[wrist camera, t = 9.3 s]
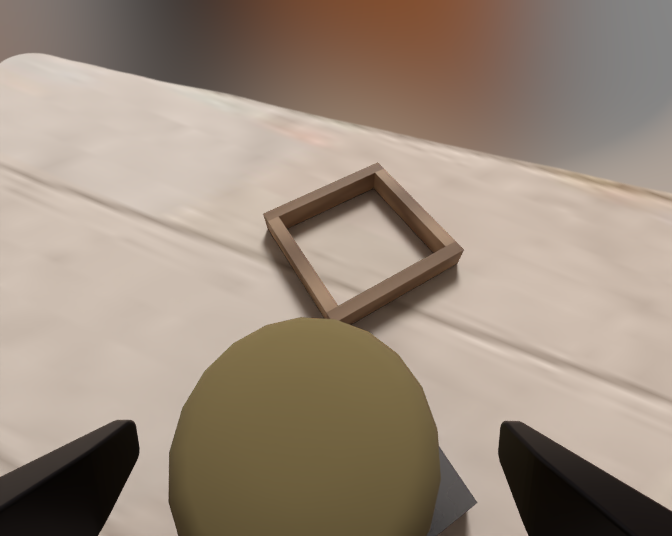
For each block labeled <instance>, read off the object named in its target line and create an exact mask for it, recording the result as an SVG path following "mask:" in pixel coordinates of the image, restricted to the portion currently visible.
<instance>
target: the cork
mask: <svg viewBox="0 0 672 536" xmlns="http://www.w3.org/2000/svg"><path fill="white" fill-rule="evenodd" d="M440 482H441V473H440V458H439V443H438V431H437V427H436V424H435V421H434V419H433V416H432V413H431V410H430V408H429V405H428V402H427V399H426V397H425V394H424V391H423V388H422V386H421V385H420V383H419V382H418V381H417V379H416V378H415V377H414V375H413V374H412V372H411V371H410V370H409V368H408V367H407V366H406V364H405V363H404V362H403V360H402V359H401V357H400V356H399V355H398V354H397V353H396V352H395V351H393V350H392V349H391V348H389V347H388V346H387V345H385V344H384V343H383V342H381V341H380V340H379V339H377V338H376V337H375V336H374V335H372V334H371V333H370V332H368V331H365V330H363V329H360V328H357V327H355V326H352V325H349V324H346V323H344V322H341V321H338V320H336V319H321V318H304V317H300V318H296V319H291V320H287V321H283V322H278V323H274V324H270V325H266V326H264V327H262V328H260V329H259V330H257V331H255V332H253V333H251V334H249V335H248V336H246V337H244V338H242V339H240V340H239V341H237V342H235V343H233V344H232V345H231V346H230V347H229V348H228V349H227V350H226V351H225V352H224V353H223V354H222V355H221V356H220V357H219V358H218V359H217V360H216V361H215V362H214V363H213V364H212V365H211V366H209V367H208V368H207V369H206V370H205V372H204V373H203V375H202V377H201V378H200V380H199V381H198V383H197V385H196V386H195V388H194V390H193V391H192V393H191V395H190V396H189V398H188V400H187V401H186V403H185V405H184V406H183V408H182V411H181V415H180V418H179V421H178V425H177V428H176V432H175V435H174V438H173V442H172V445H171V449H170V452H169V505H170V508H171V512H172V515H173V519H174V522H175V526H176V529H177V533H178V536H427V534H428V532H429V530H430V527H431V522H432V518H433V513H434V509H435V504H436V500H437V495H438V491H439V486H440Z"/></svg>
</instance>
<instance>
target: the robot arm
mask: <svg viewBox="0 0 672 536" xmlns="http://www.w3.org/2000/svg"><path fill="white" fill-rule="evenodd" d="M498 455H499V460H500V463H501V466H502V468H503V471H504V474H505V476H506V479H507V482H508V484H509V487H510V490H511V492H512V495H513V498H514V500H515V503H516V506H517V508H518V511H519V514H520V516H521V519H522V521H523V524H524V526H525V529H526V531H527V533H528V536H672V511H671V510H669V509H667V508H666V507H664V506H662V505H661V504H659V503H657V502H655V501H654V500H652V499H650V498H649V497H647V496H645V495H644V494H642V493H640V492H639V491H637V490H635V489H634V488H632V487H630V486H629V485H627V484H625V483H623V482H622V481H620V480H618V479H617V478H615V477H613V476H612V475H610V474H608V473H607V472H605V471H603V470H602V469H600V468H598V467H597V466H595V465H593V464H591V463H590V462H588V461H586V460H585V459H583V458H581V457H580V456H578V455H576V454H575V453H573V452H571V451H570V450H568V449H566V448H565V447H563V446H561V445H559V444H558V443H556V442H554V441H553V440H551V439H549V438H548V437H546V436H544V435H543V434H541V433H539V432H538V431H536V430H534V429H533V428H531V427H529V426H528V425H526V424H524V423H522V422H520V421H504V422H503V423H502V424H501V427H500V437H499V448H498ZM138 456H139V442H138V435H137V429H136V424H135V422H134V421H132V420H115V421H113V422H111V423H109V424H107V425H105V426H103V427H101V428H99V429H97V430H95V431H93V432H91V433H89V434H87V435H85V436H83V437H80V438H78V439H76V440H74V441H72V442H70V443H68V444H66V445H64V446H62V447H60V448H58V449H56V450H54V451H52V452H50V453H48V454H46V455H44V456H42V457H40V458H38V459H36V460H34V461H32V462H30V463H28V464H26V465H24V466H22V467H20V468H18V469H16V470H14V471H12V472H9V473H7V474H5V475H3V476H1V477H0V536H98V535H99V533H100V531H101V530H102V528H103V526H104V524H105V522H106V521H107V519H108V517H109V515H110V513H111V511H112V509H113V507H114V505H115V503H116V501H117V499H118V497H119V495H120V493H121V491H122V489H123V487H124V485H125V483H126V481H127V479H128V477H129V475H130V473H131V471H132V469H133V467H134V465H135V463H136V461H137V459H138Z"/></svg>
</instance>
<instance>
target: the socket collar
mask: <svg viewBox="0 0 672 536" xmlns="http://www.w3.org/2000/svg"><path fill="white" fill-rule="evenodd" d="M373 188H374V189H375V190H376V191H377V192H378V193H379V194H380V196H381V197H382V198H383V199H384V200H385V201H386V202H387V203H388V204H389V205H390V206H391V207H392V209H393V210H394V211H395V212H396V213H397V214H398V215H399V216H400V217H401V218H402V219H403V220H404V222H405V223H406V224H407V225H408V226H409V227H410V228H411V229H412V230H413V231H414V232H415V234H416V235H417V236H418V237H419V238H420V239H421V240H422V241H423V242H424V243H425V244H426V245H427V247H428V248H429V249H430V250H431V251H432V252H433V254H431V255H429V256H428V257H426V258H424V259H422V260H420V261H419V262H417V263H415V264H413V265H411V266H410V267H408V268H406V269H404V270H402V271H401V272H399V273H397V274H395V275H393V276H391V277H390V278H388V279H386V280H384V281H382V282H381V283H379V284H377V285H375V286H373V287H372V288H370V289H368V290H366V291H364V292H363V293H361V294H359V295H357V296H355V297H354V298H352V299H350V300H348V301H346V302H344V303H343V304H341V305H339V306H338V305H337V303H336V302H335V300H334V299H333V297H332V296H331V294H330V293H329V291H328V290H327V288H326V287H325V285H324V284H323V282H322V281H321V279H320V278H319V276H318V275H317V273H316V272H315V270H314V269H313V267H312V266H311V264H310V263H309V261H308V260H307V258H306V257H305V255H304V254H303V252H302V251H301V249H300V248H299V246H298V245H297V243H296V242H295V240H294V239H293V237H292V236H291V234H290V233H289V231H288V230H287V229H288V228H290V227H292V226H294V225H296V224H298V223H300V222H303V221H305V220H307V219H309V218H311V217H313V216H315V215H318V214H320V213H322V212H324V211H326V210H328V209H330V208H332V207H335V206H337V205H339V204H341V203H343V202H345V201H347V200H350V199H352V198H354V197H356V196H358V195H360V194H362V193H364V192H367V191H369V190H371V189H373ZM263 215H264V218H265V221H266V225H267V228H268V230H269V231H270V233H271V234H272V236H273V238H274V239H275V241H276V242H277V244H278V246H279V247H280V249H281V250H282V252H283V253H284V255H285V257H286V258H287V260H288V261H289V263H290V265H291V266H292V268H293V269H294V271H295V272H296V274H297V276H298V277H299V279H300V280H301V282H302V284H303V285H304V287H305V288H306V290H307V291H308V293H309V295H310V296H311V298H312V299H313V301H314V303H315V304H316V306H317V307H318V309H319V310H320V312H321V314H322V315H323V317H324V318H325V319H336V320H338V321H341V322H344V323H346V324H349V325H351V324H353V323H355V322H356V321H358V320H360V319H362V318H363V317H365V316H367V315H369V314H370V313H372V312H374V311H376V310H377V309H379V308H381V307H383V306H384V305H386V304H388V303H389V302H391V301H393V300H395V299H396V298H398V297H400V296H402V295H403V294H405V293H407V292H409V291H410V290H412V289H414V288H416V287H417V286H419V285H421V284H423V283H424V282H426V281H428V280H429V279H431V278H433V277H435V276H436V275H438V274H440V273H442V272H443V271H445V270H447V269H449V268H450V267H452V266H454V265H456V264H457V263H458V261H459V259H460V257H461V255H462V253H463V251H464V249H463V248H462V247H461V246H460V245H459V244H458V243H457V242H456V241H455V240H454V239H453V238H452V237H451V236H450V235H449V234H448V233H447V232H446V231H445V230H444V229H443V228H442V227H441V226H440V225H439V224H438V223H437V222H436V221H435V220H434V219H433V218H432V217H431V216H430V215H429V214H428V213H427V212H426V211H425V210H424V209H423V208H422V207H421V206H420V205H419V204H418V203H417V202H416V201H415V200H414V199H413V198H412V197H411V196H410V195H409V194H408V193H407V192H406V191H405V189H404V188H403V187H402V186H401V185H400V184H399V183H398V182H397V181H396V180H395V179H394V178H393V177H392V176H391V175H390V174H389V173H388V172H387V171H386V170H385V169H384V168H383V167H382V166H381V165H380V164H379V163H375V164H373V165H371V166H369V167H367V168H364V169H362V170H360V171H358V172H355V173H353V174H351V175H349V176H346V177H344V178H342V179H340V180H337V181H335V182H333V183H331V184H329V185H326V186H324V187H322V188H320V189H317V190H315V191H313V192H311V193H308V194H306V195H304V196H302V197H300V198H297V199H295V200H293V201H291V202H288V203H286V204H284V205H282V206H279V207H277V208H275V209H273V210H270V211H268V212H266V213H264V214H263Z"/></svg>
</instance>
